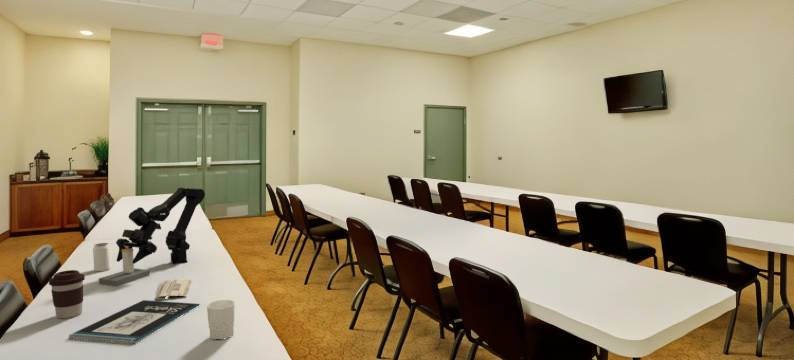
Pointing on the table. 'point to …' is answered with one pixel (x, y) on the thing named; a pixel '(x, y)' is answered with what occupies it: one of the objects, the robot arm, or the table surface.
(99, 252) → the can
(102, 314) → the table surface
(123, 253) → the fader knob
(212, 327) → the white cup
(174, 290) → the open book
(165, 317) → the sketchbook
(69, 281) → the coffee cup
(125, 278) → the console
